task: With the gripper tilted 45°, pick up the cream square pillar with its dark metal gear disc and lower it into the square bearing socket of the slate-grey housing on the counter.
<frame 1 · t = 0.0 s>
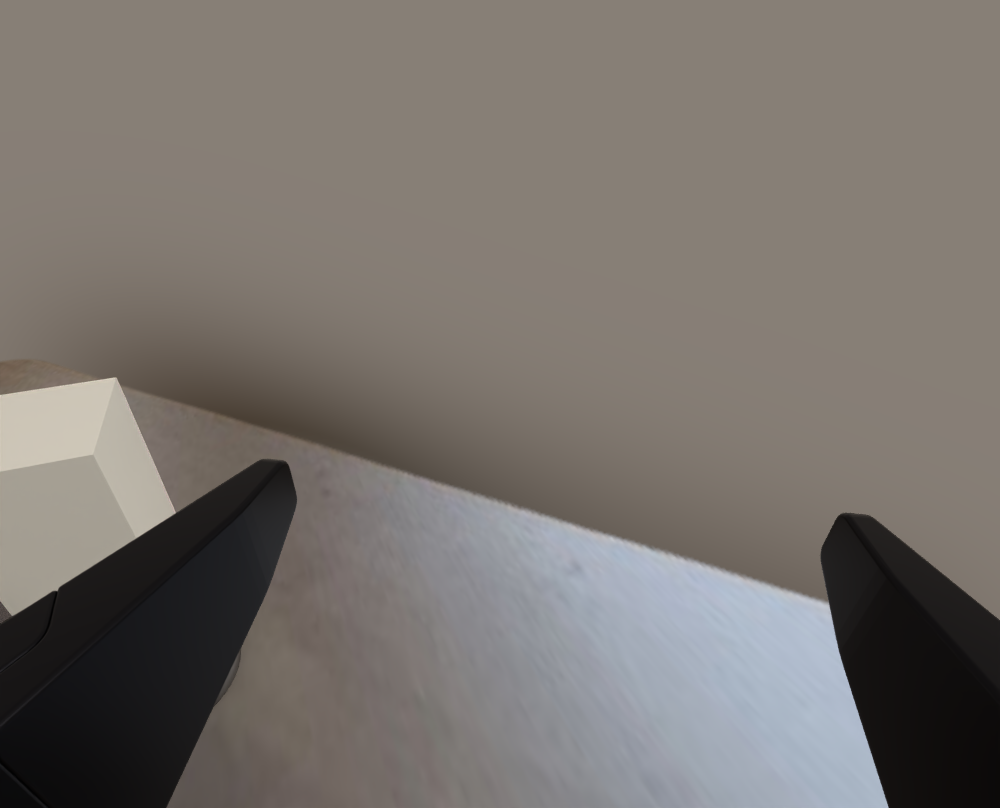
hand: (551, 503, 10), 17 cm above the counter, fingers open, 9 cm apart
cream square pillar: (169, 671, 24), on the counter
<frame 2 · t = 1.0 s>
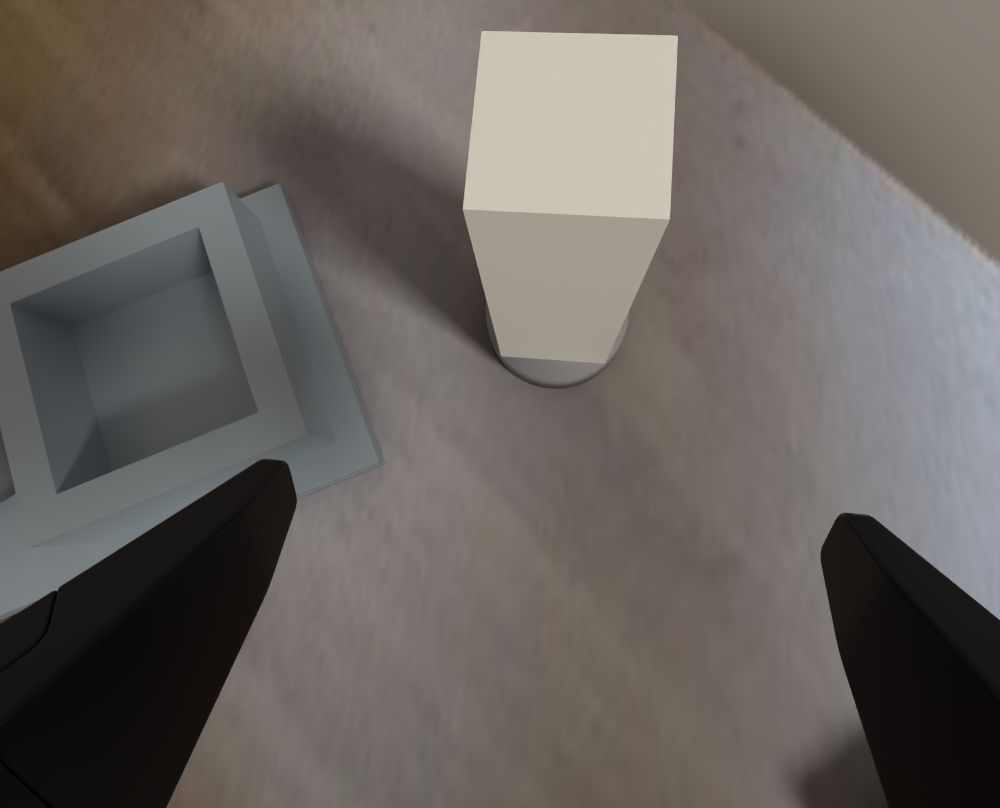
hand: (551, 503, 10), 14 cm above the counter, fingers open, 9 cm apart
cream square pillar: (555, 322, 24), on the counter
housing: (194, 379, 25), on the counter
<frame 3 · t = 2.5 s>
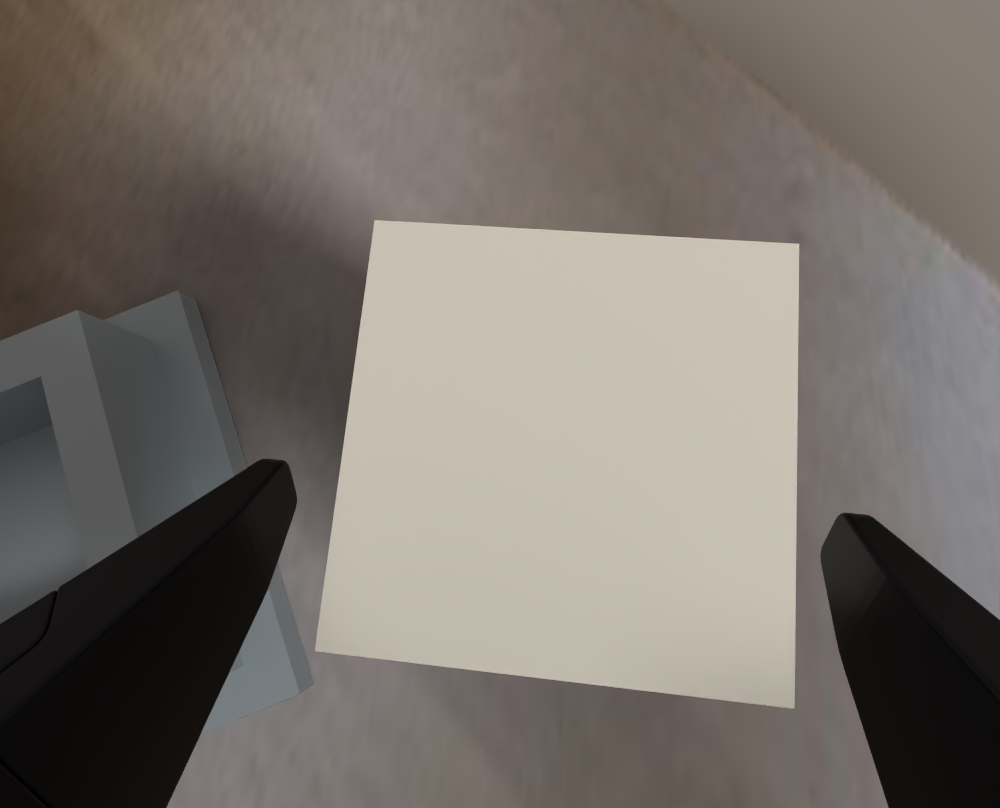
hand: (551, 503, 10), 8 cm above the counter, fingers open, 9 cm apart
cream square pillar: (547, 487, 18), on the counter
housing: (61, 555, 19), on the counter
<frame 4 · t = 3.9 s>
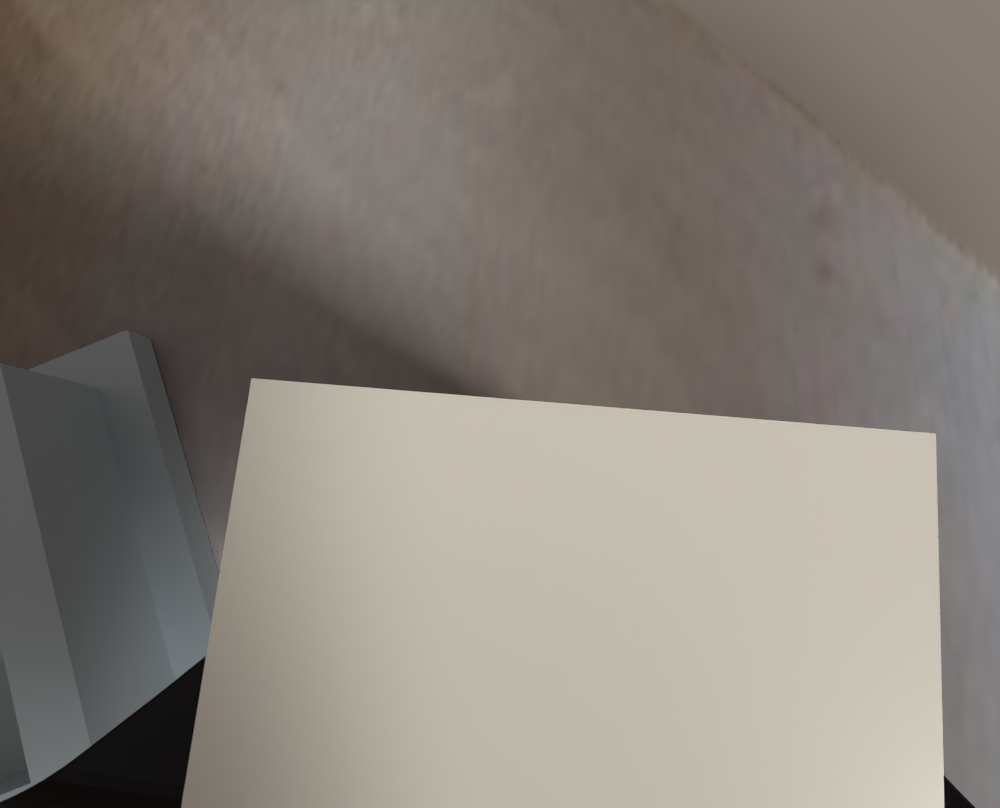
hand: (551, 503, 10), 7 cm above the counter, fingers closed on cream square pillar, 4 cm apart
cream square pillar: (542, 554, 16), on the counter, touching gripper
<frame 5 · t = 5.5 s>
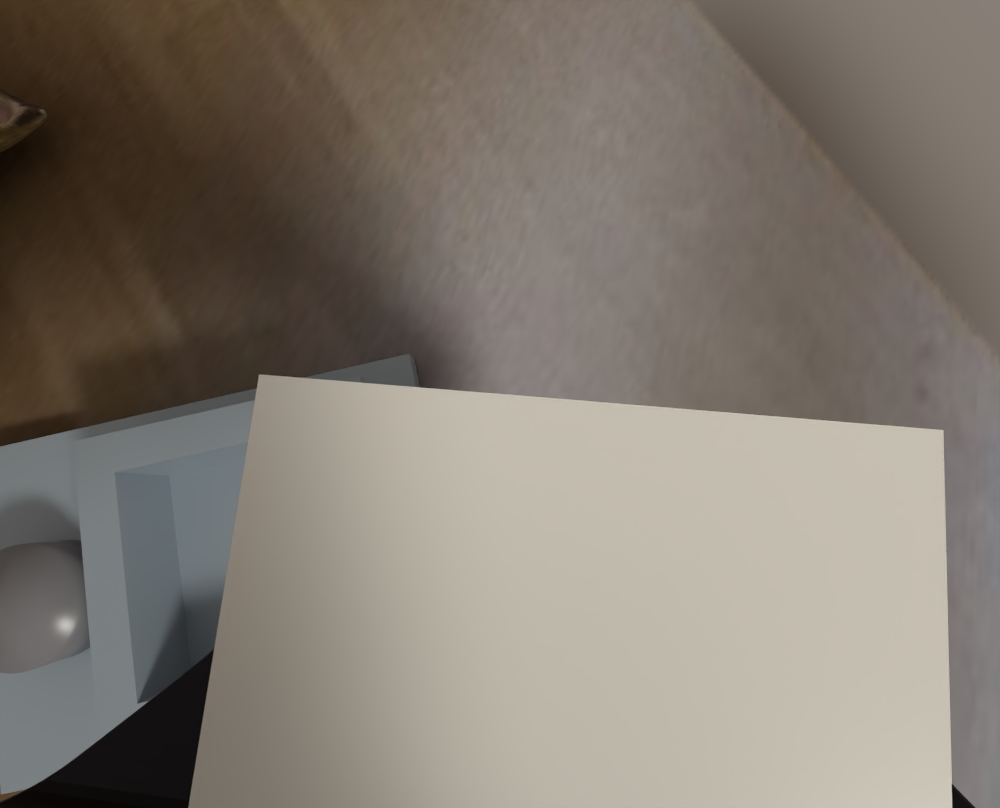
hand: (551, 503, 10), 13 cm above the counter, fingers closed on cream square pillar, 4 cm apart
cream square pillar: (544, 553, 16), point 7 cm above the counter, touching gripper
housing: (286, 549, 23), on the counter
when the fingers open (9 cm above the counter, at t = 7.4 s): cream square pillar drops 1 cm, resting on housing.
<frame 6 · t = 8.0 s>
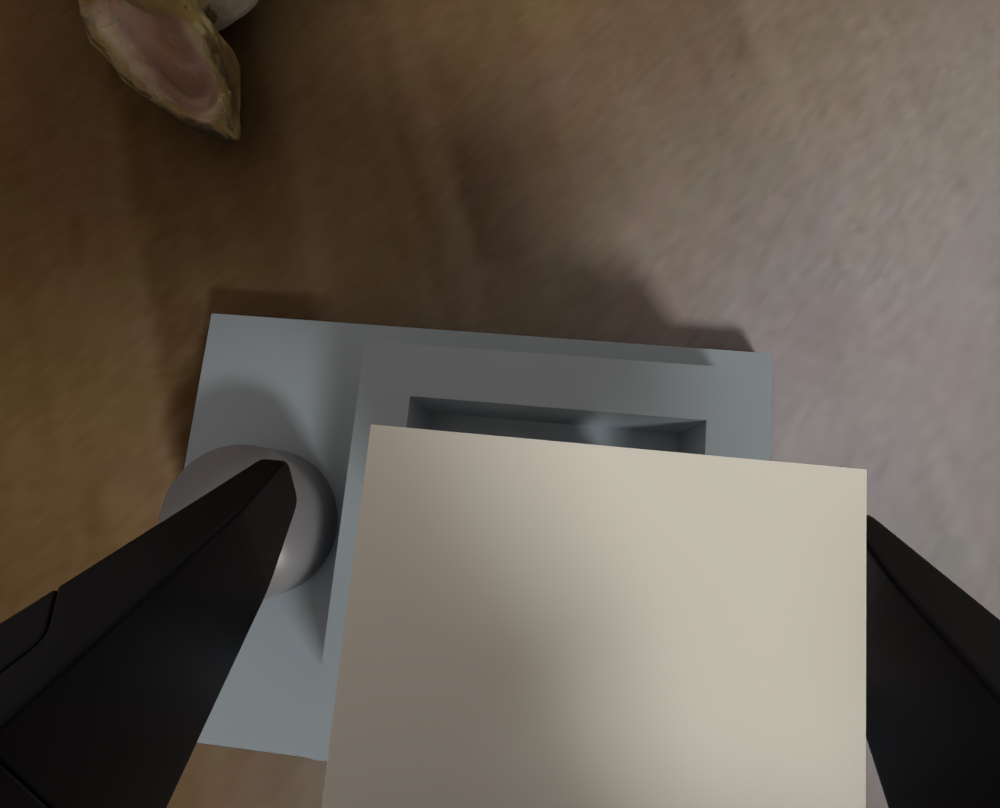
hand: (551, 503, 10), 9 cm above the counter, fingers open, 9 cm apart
cream square pillar: (543, 549, 17), point 1 cm above the counter, touching housing
housing: (542, 546, 18), on the counter
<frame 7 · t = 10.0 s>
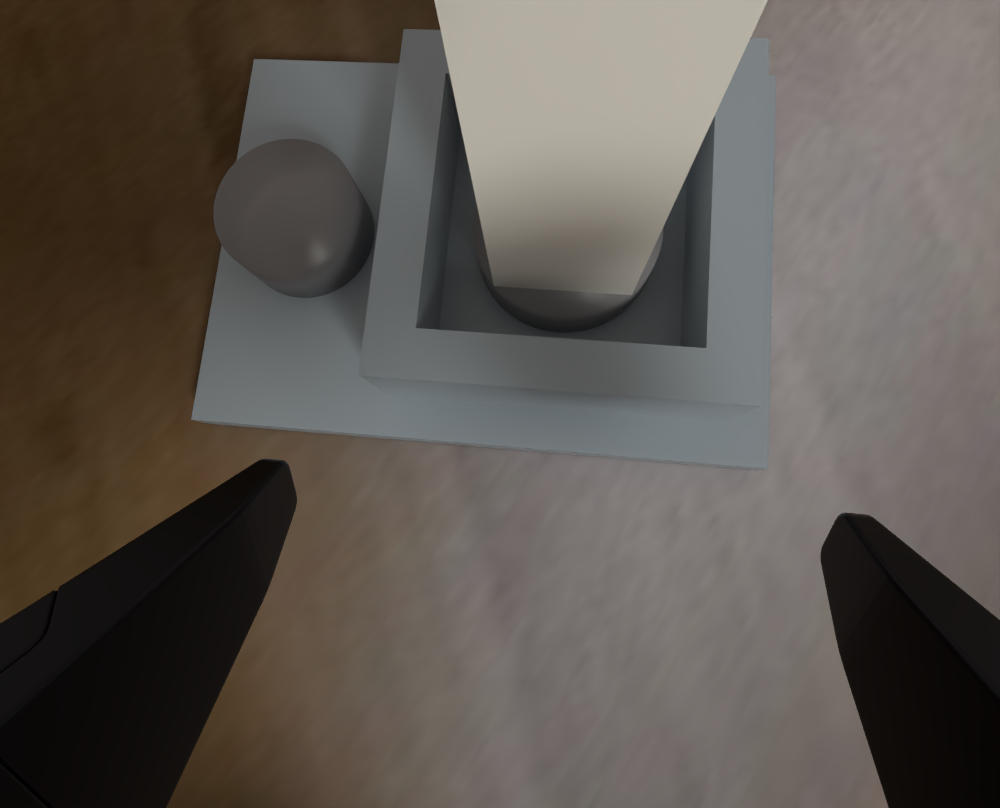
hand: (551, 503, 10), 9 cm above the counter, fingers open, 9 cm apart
cream square pillar: (564, 248, 19), point 1 cm above the counter, touching housing
housing: (563, 261, 20), on the counter
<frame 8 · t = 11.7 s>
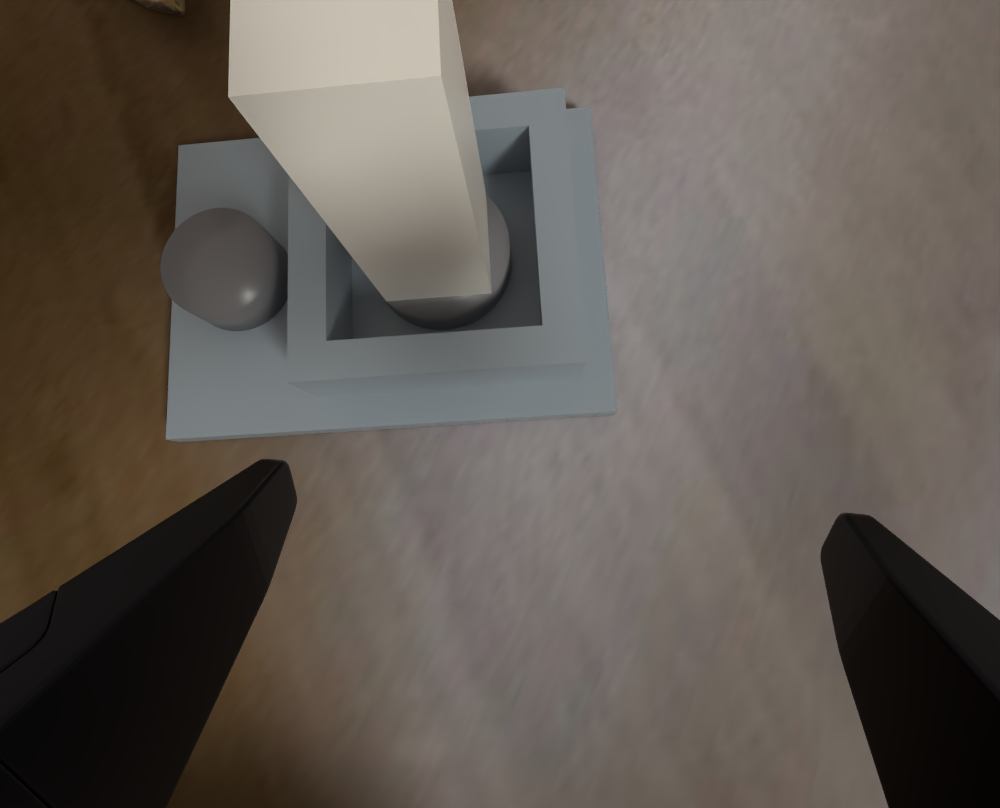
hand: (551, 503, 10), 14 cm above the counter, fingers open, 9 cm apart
cream square pillar: (443, 264, 24), point 1 cm above the counter, touching housing
housing: (447, 273, 25), on the counter
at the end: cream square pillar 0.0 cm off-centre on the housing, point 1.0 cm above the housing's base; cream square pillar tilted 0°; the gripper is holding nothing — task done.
